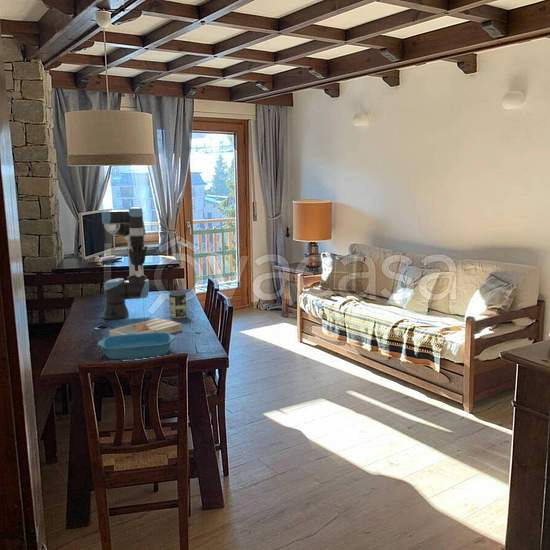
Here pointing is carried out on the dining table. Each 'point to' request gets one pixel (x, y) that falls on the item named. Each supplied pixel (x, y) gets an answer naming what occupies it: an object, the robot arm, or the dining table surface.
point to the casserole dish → (136, 345)
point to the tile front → (130, 332)
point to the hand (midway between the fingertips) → (138, 276)
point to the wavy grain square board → (162, 325)
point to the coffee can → (177, 305)
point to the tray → (125, 328)
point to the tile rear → (140, 327)
